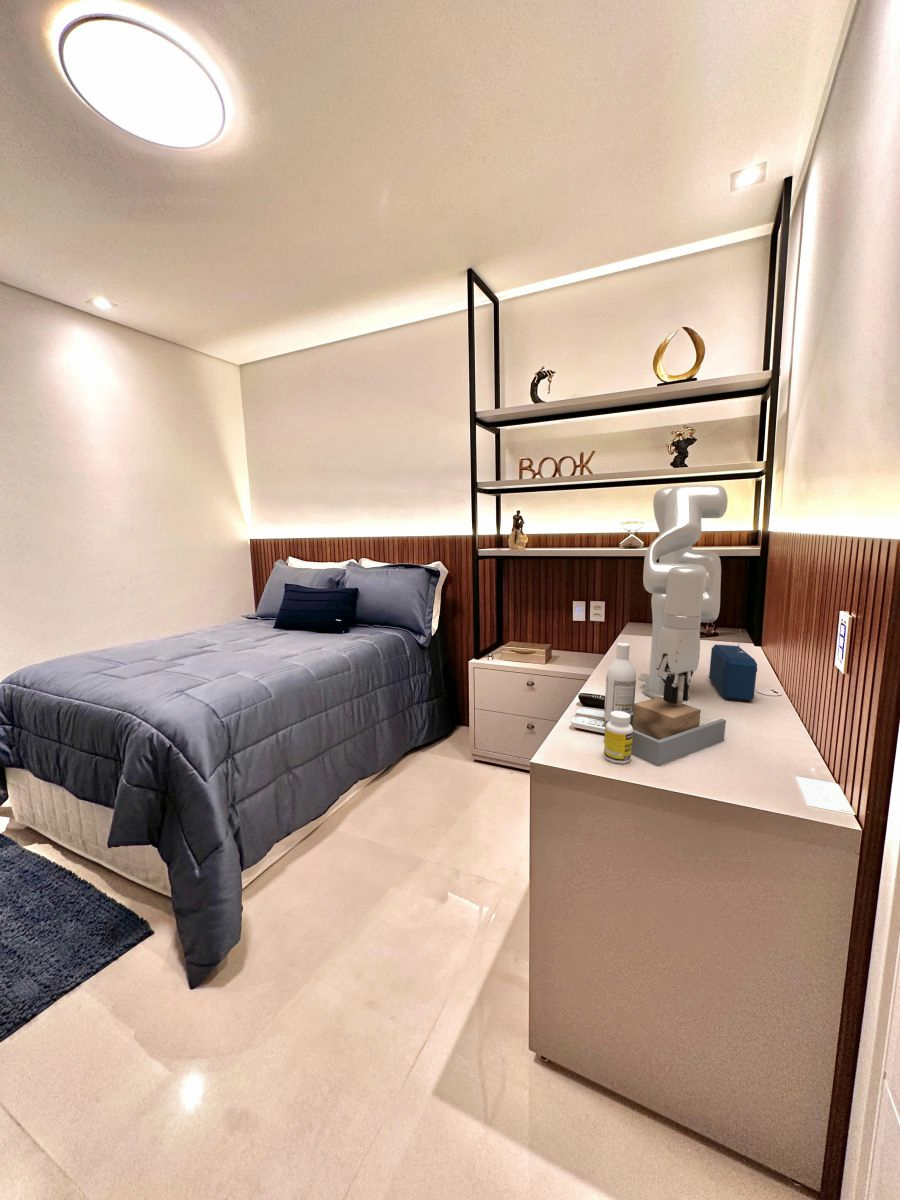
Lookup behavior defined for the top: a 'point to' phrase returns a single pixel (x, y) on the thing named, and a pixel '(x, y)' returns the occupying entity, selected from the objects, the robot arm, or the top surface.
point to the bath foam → (620, 683)
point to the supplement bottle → (618, 738)
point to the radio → (733, 672)
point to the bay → (675, 742)
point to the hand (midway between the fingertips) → (675, 700)
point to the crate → (665, 715)
